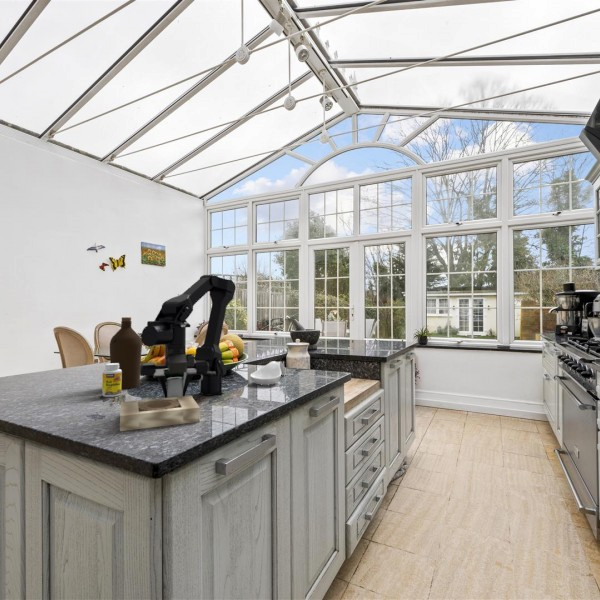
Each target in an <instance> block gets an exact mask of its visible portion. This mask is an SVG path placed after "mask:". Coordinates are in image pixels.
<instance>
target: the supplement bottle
mask: <svg viewBox="0 0 600 600" xmlns="http://www.w3.org/2000/svg"><path fill="white" fill-rule="evenodd" d="M121 384H122V370H121V369H119V363H110V362H109V363H106V364H105V369H104V370H103V371H102V388H101V389H102V390H101V392H102V393H101V395H102V396H103V398H104V397H105V398H113V397H119V396H120V395H121V394H122V389H121Z"/></svg>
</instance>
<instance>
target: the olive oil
mask: <svg viewBox="0 0 600 600" xmlns="http://www.w3.org/2000/svg"><path fill="white" fill-rule="evenodd" d="M120 324H121V325H120V329H118V331H117V332H115V334H114V335H113V336H112V337H111V338H110V342H109V363H119V369H121V370H122V384H121V390H130V389H129V388H131V389H134V388H138V387H140V385H141V384H140V382H141V376H140V365H141V364H142V351H143V350H142V348H143V342H142V339H141V335H139V334H138V333H137V332H136V331H135V330H134V329H133V328H132V317H127V316H126V317H125V316H124V317H121V323H120Z"/></svg>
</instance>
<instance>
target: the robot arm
mask: <svg viewBox="0 0 600 600" xmlns="http://www.w3.org/2000/svg"><path fill="white" fill-rule="evenodd" d="M236 287H237V286H236V284H235V282H234V281H233V280H232V279H227V278H222V277H220V276H217V275H215V274H203V275H201V276H200V277H199V279H198V280H196V282H194V283H192V285H190V286H189V287H188V288H187V289H186V290H185V291H184V292H183V293H182V294H180V295H176V296H174V297H171V298H169V299H166V300H165V301H164V302H163V303H162V305H161V308H160V310H159V312H158V314H157V315H156V317H155V319H154V320H151V321H150V320H148V321H147V324H146V325H145V327H144V328H143V329H142V332H141V334H140V338H141V341H142V344H143V345H144V346H146V347H147V348H151V347H159V346H164V364H159V365H157V364H156V363H155V362H143V363H142V362H141V365H140V377H145V376H146V377H148V376H149V377H150V376H152V377H153V379H158V382H159V383H160V385H161V390H162V392H163V396H164V398H167V380H166V375H165V372H168V373H170V374H175V373H183V396H186V392H187V391H188V390H187V389H188V387H189V384H190V383H191V380H192V379H193V377H194V376H197V375H200V376H201V377H200V379H199V380H198V381H199V382H198V384H199V385H198V386H199V388H198V389H199V392H200V394H201V395H202V396H203V397H204V396H214V395H215V396H216V395H222V394H224V392H223V391H222V389H223V388H222V383H223V381H222V380H223V379H222V378H223V377H224V376H225V375H226V374H227V371H228V368H227V366H226V365H225V363H224V362H223V360H222V359H223V353H222V351H221V348H220V343H221V342H220V341H221V337H222V331H223V328H224V322H225V318H226V317H225V316H226V312H227V307H228V305H229V304H230V302H231V301H233V300H234V299H233V298H234V296H235V293H236ZM208 292H209V297H210V299H211V308H210V314H209V318H208V322H207V327H206V331H205V332H206V333H205V338H204V342H203V344H202V345H201V346H197V347H196V349H195V353H186V350H187V349H186V344H187V343H186V341H187V340H186V334H187V333H186V331H187V329H186V328H191V324H190V323H189V322H188V321H187V319H188V318H189V317H190V315H192V313H193V312H194V306H195V305H196V304H197V303H198V302H199V301H200V300H201V299H202V298H203V297H204V296H206V294H207V293H208Z"/></svg>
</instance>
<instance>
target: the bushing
mask: <svg viewBox="0 0 600 600" xmlns="http://www.w3.org/2000/svg"><path fill="white" fill-rule="evenodd" d="M183 379H184V377H183V376H174V377H172V376H170V377H168V378H166V390H167V398H170V397H181V396H183Z"/></svg>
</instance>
